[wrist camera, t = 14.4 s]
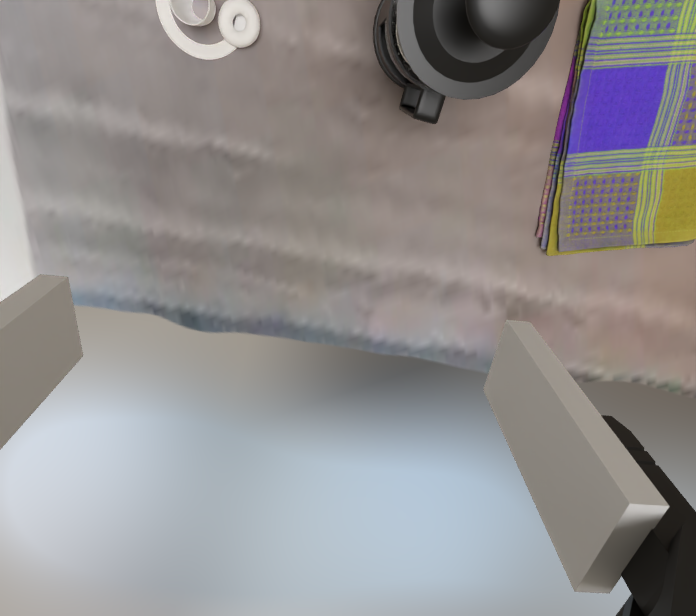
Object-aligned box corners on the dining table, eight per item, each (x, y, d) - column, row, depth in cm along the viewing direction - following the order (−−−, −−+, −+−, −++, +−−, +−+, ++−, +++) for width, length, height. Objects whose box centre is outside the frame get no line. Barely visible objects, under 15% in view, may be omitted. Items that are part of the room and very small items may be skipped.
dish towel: (783, -22, 38) (813, -28, 36) (685, 246, 50) (703, 256, 47) (580, -19, 38) (597, -25, 36) (529, 249, 50) (539, 258, 47)
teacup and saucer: (276, 22, 39) (269, 17, 36) (215, 87, 42) (203, 88, 38) (199, -76, 36) (183, -93, 32) (138, 0, 38) (117, -7, 35)
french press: (393, -59, 36) (459, -224, 16) (499, -23, 38) (687, -135, 17) (356, 96, 42) (370, 119, 21) (450, 122, 43) (549, 169, 23)
